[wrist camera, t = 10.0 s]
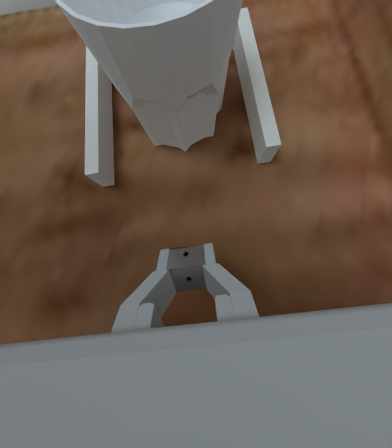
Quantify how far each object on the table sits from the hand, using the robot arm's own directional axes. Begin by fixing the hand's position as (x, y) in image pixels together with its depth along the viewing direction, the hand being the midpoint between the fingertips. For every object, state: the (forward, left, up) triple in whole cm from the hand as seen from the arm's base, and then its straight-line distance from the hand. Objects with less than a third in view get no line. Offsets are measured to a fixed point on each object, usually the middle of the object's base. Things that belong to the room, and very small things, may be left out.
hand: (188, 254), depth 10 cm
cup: (-7, +13, -5) cm, 15 cm away
